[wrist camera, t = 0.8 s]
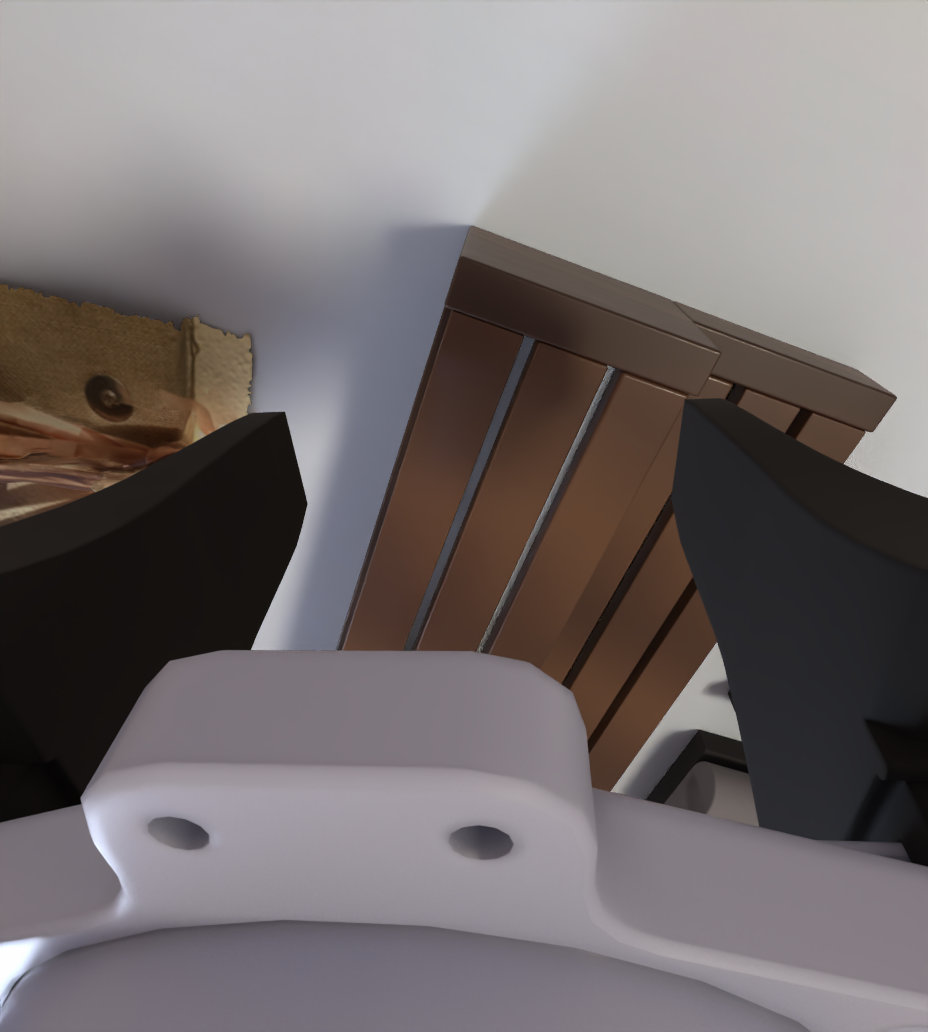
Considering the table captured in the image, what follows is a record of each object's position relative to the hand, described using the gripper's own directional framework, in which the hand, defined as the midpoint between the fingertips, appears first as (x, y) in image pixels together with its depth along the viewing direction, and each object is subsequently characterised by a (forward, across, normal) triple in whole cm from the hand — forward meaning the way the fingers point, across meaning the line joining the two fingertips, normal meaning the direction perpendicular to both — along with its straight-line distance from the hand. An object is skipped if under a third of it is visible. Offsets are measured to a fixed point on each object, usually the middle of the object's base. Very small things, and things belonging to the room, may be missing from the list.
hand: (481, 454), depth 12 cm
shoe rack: (+9, -1, +11) cm, 14 cm away
